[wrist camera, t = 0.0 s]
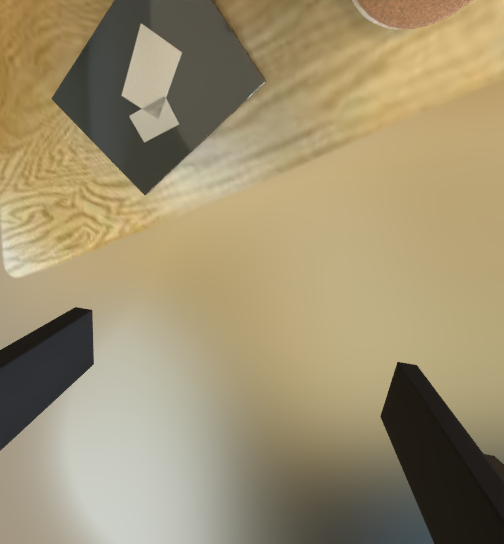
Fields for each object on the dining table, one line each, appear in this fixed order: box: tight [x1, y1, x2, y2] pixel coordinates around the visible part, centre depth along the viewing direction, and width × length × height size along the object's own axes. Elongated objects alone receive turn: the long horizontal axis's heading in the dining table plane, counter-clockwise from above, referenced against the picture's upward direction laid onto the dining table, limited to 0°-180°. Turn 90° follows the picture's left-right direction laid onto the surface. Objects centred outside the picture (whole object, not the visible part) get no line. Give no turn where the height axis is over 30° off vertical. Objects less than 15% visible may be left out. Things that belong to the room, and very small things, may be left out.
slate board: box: [52, 0, 266, 195], centre depth 32 cm, size 20×14×1 cm
